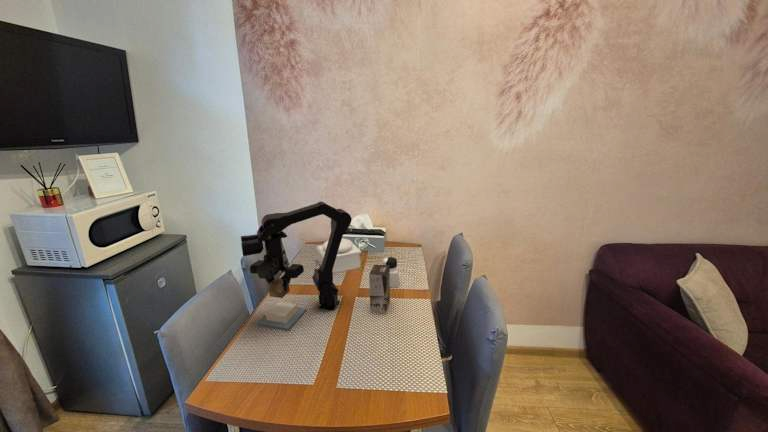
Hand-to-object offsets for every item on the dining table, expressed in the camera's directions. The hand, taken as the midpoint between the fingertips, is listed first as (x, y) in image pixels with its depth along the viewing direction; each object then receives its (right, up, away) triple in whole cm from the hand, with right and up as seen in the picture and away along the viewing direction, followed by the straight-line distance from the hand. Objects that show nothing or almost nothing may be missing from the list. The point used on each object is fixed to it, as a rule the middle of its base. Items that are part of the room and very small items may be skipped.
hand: (279, 290), depth 119 cm
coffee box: (+37, -9, +9) cm, 39 cm away
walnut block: (0, -1, 0) cm, 2 cm away
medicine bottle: (+41, -3, +27) cm, 49 cm away
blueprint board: (0, -11, +3) cm, 12 cm away
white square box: (+15, +2, +47) cm, 50 cm away
